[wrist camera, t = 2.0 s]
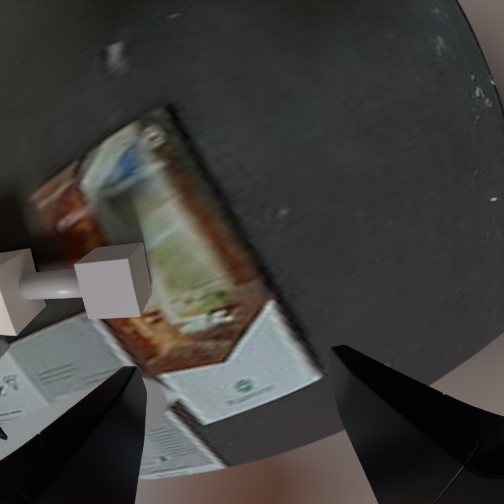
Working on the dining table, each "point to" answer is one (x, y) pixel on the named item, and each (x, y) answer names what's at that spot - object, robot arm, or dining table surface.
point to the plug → (75, 285)
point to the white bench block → (3, 345)
